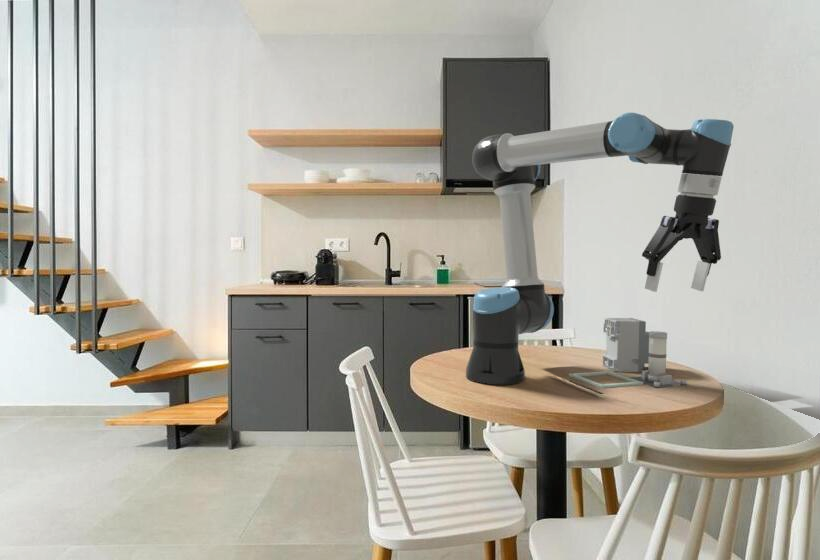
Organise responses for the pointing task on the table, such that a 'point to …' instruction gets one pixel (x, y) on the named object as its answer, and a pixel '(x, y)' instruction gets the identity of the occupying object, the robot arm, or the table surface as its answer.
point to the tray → (577, 376)
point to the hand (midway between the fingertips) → (674, 289)
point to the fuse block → (664, 381)
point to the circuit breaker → (626, 344)
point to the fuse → (657, 355)
